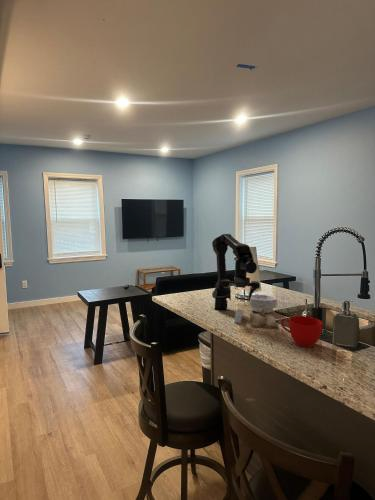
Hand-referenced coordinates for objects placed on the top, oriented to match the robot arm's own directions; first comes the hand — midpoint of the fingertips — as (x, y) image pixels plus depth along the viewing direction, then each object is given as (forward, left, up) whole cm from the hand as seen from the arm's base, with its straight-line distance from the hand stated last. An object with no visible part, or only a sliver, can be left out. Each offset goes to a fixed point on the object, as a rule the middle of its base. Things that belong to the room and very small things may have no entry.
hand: (239, 300), depth 169 cm
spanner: (0, 0, -10) cm, 10 cm away
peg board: (+12, 0, -10) cm, 15 cm away
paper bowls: (+13, +20, -10) cm, 26 cm away
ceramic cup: (+25, -26, -10) cm, 37 cm away
